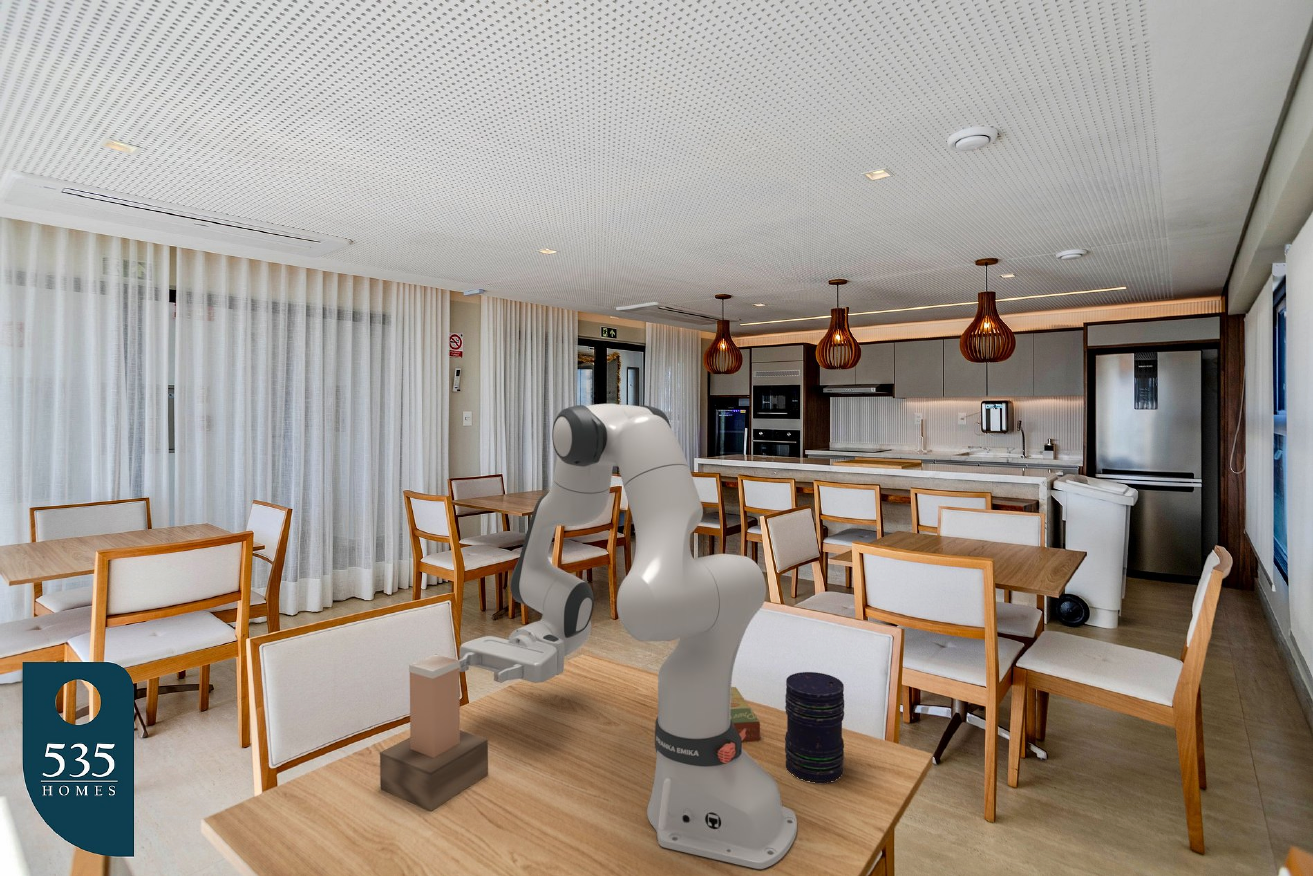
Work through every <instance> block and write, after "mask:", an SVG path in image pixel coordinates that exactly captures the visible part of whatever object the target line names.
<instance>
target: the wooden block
mask: <svg viewBox="0 0 1313 876" xmlns="http://www.w3.org/2000/svg"><path fill="white" fill-rule="evenodd" d="M379 765H380V766H379V767H380V768H379V769H380V770H379V773H380V775H379V776H380V782H379V783H380V788H381V789H380V790H383V791H384V792H388V793H389V794H391V795H394V796H395V797H398V798H401V799H403V800H405V801H407V802H409V803H410V804H411V803H412V804H413V805H417V806H419V807H420V808H423V809H425V810H427V811H430V812H432V811H434V810H435V809H437V808H439V807H440V806H442V805H443V804H445V803H446V802H448V801H449V800H451V799H453V798H454V797H456V796H458V794H460V793H463V791H465V790H467V789H468V788H469V787H471V786H473V785H474V784H475V783H477V782H479V781H480V780H482V779H484V778H485V777H487V776H488V775H489V739H487V738H485V737H481V736H479V735H477V734H476V735H475V734H472V733H469V732H468V731H463V730H461V729H460V743H459V744H457V745H455V746H454V747H452V748H450V749H448V750H446V751H445V752H443V753H441V754H439V755H437V756H436V757H434V758H433V757H430V756H428V755H425V754H423V753H420V752H417V751H415V750H412V749H410V737H407V738H405V739H404V740H402V741H400V742H398V743H396V744H393V745H392V746H390V747H388V748H386V749H384V750H382V751H380V753H379Z"/></svg>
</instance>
